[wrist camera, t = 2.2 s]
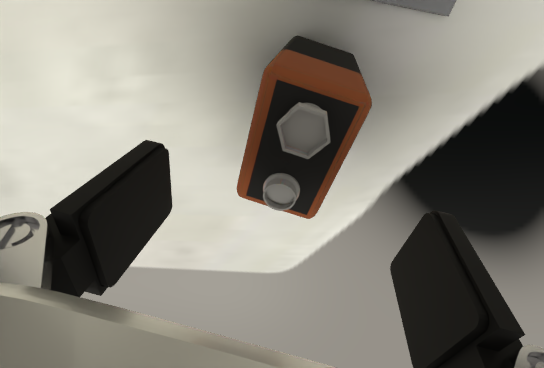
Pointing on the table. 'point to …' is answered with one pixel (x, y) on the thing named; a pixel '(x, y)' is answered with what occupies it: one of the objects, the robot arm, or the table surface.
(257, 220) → the table surface
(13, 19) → the table surface
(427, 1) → the mat
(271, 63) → the battery
